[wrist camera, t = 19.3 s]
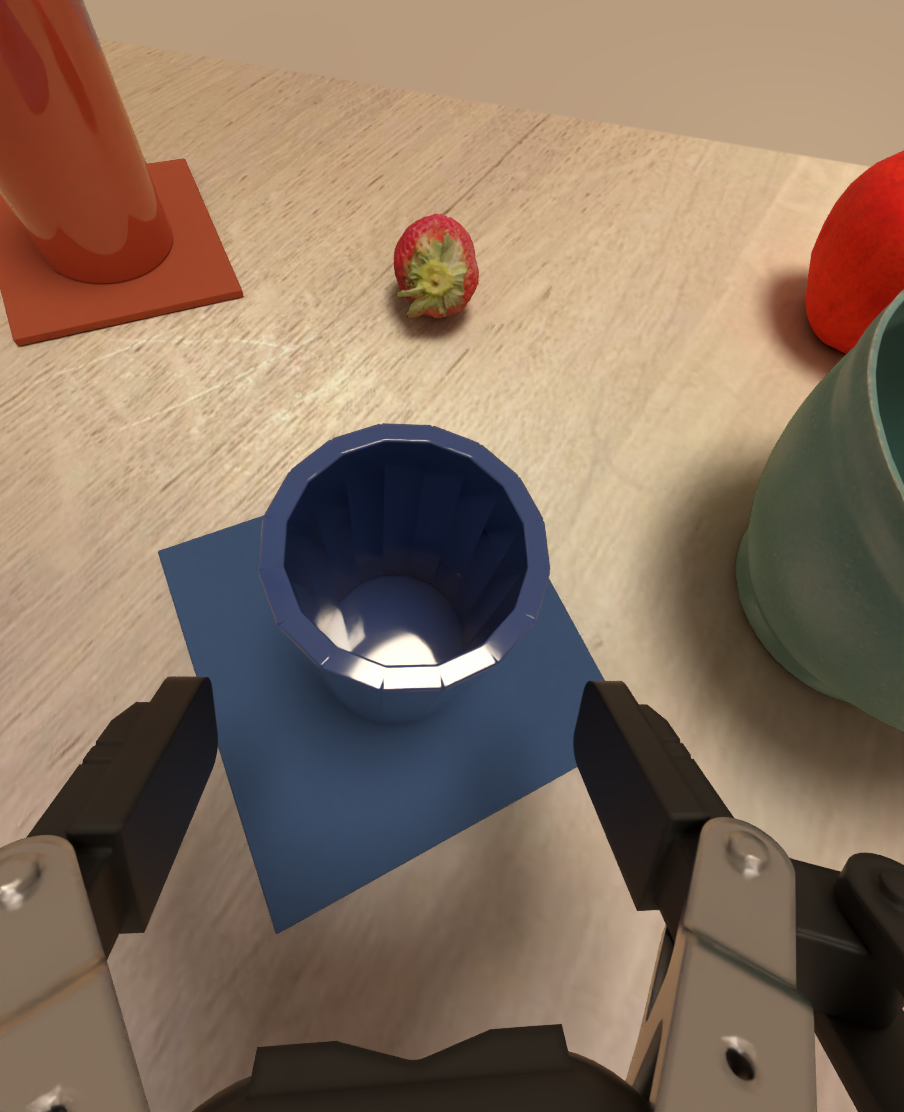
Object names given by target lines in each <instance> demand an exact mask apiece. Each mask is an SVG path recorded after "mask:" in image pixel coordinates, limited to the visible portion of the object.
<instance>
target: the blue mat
mask: <svg viewBox="0 0 904 1112" xmlns="http://www.w3.org/2000/svg"><path fill="white" fill-rule="evenodd" d="M263 519H264V516H261V517H258V518H255V519H252V520H249V521H246V522H243V523H240V524H237V525H234V526H231V527H228V528H225V529H222V530H220V531H217V532H214V533H211V534H208V535H205V536H202V537H199V538H196V539H193V540H190V541H187V542H184V543H181V544H178V545H175V546H172V547H169V548H166V549H163V550H160V551H158V554H159V557H160V560H161V564H162V567H163V570H164V573H165V576H166V580H167V583H168V586H169V589H170V593H171V596H172V599H173V602H174V606H175V609H176V612H177V615H178V618H179V622H180V625H181V628H182V631H183V635H184V638H185V641H186V644H187V648H188V651H189V654H190V657H191V660H192V664H193V667H194V670H195V673H196V677H209V679H210V680H211V683H212V690H213V698H214V706H215V715H216V723H217V731H218V748H219V751H220V754H221V757H222V761H223V764H224V767H225V770H226V774H227V777H228V780H229V783H230V786H231V790H232V793H233V796H234V799H235V803H236V806H237V809H238V812H239V816H240V819H241V822H242V825H243V828H244V832H245V835H246V838H247V841H248V845H249V848H250V851H251V854H252V858H253V861H254V864H255V867H256V870H257V874H258V877H259V880H260V883H261V887H262V890H263V893H264V896H265V899H266V903H267V906H268V909H269V912H270V916H271V919H272V922H273V925H274V929H275V932H276V934H278V933H280V932H282V931H283V930H285V929H287V928H289V927H291V926H292V925H294V924H296V923H298V922H300V921H301V920H303V919H305V918H307V917H309V916H310V915H312V914H314V913H316V912H317V911H319V910H321V909H323V908H325V907H326V906H328V905H330V904H332V903H334V902H335V901H337V900H339V899H341V898H343V897H344V896H346V895H348V894H350V893H352V892H353V891H355V890H357V889H359V888H361V887H362V886H364V885H366V884H368V883H370V882H371V881H373V880H375V879H377V878H379V877H380V876H382V875H384V874H386V873H388V872H389V871H391V870H393V869H395V868H397V867H398V866H400V865H402V864H404V863H405V862H407V861H409V860H411V859H413V858H414V857H416V856H418V855H420V854H422V853H423V852H425V851H427V850H429V849H431V848H432V847H434V846H436V845H438V844H440V843H441V842H443V841H445V840H447V839H449V838H450V837H452V836H454V835H456V834H458V833H459V832H461V831H463V830H465V829H467V828H468V827H470V826H472V825H474V824H476V823H477V822H479V821H481V820H483V819H484V818H486V817H488V816H490V815H492V814H493V813H495V812H497V811H499V810H501V809H502V808H504V807H506V806H508V805H510V804H511V803H513V802H515V801H517V800H519V799H520V798H522V797H524V796H526V795H528V794H529V793H531V792H533V791H535V790H537V789H538V788H540V787H542V786H544V785H546V784H547V783H549V782H551V781H553V780H555V779H556V778H558V777H560V776H562V775H564V774H565V773H567V772H569V771H571V770H572V769H574V768H576V767H577V764H576V761H575V756H574V750H573V736H574V731H575V726H576V722H577V717H578V713H579V708H580V704H581V699H582V695H583V691H584V687H585V685H586V683H587V682H588V681H605V680H604V678H603V677H602V675H601V673H600V671H599V669H598V667H597V666H596V664H595V662H594V660H593V658H592V656H591V655H590V653H589V651H588V649H587V647H586V645H585V644H584V642H583V640H582V638H581V636H580V634H579V633H578V631H577V629H576V627H575V625H574V623H573V622H572V620H571V618H570V616H569V614H568V612H567V611H566V609H565V607H564V605H563V603H562V601H561V600H560V598H559V596H558V594H557V592H556V590H555V589H554V587H553V585H552V583H551V581H550V580H549V578H548V581H547V585H546V588H545V591H544V595H543V598H542V601H541V605H540V608H539V611H538V615H537V618H536V620H535V621H534V624H533V625H532V626H531V628H530V629H529V630H528V631H527V632H526V633H525V635H524V636H523V637H522V638H521V639H520V640H519V641H518V643H517V644H516V645H515V646H514V647H513V648H512V650H511V651H510V652H509V653H508V654H507V655H506V656H505V658H504V659H503V660H502V661H501V662H500V663H499V664H498V665H497V666H495V667H494V668H493V669H492V670H490V671H489V672H488V673H487V674H486V675H484V676H483V677H482V678H481V679H479V680H478V681H477V682H476V683H475V684H473V685H472V686H471V687H470V688H468V689H467V690H466V691H465V692H463V693H462V694H461V695H460V696H459V697H457V698H456V699H455V700H454V701H452V702H451V703H450V704H449V705H448V706H446V707H445V708H444V709H442V710H440V711H438V712H436V713H434V714H432V715H431V716H429V717H427V718H424V719H422V720H419V721H417V722H413V723H408V724H401V725H384V724H377V723H373V722H370V721H367V720H364V719H362V718H359V717H357V716H355V715H354V714H352V713H349V712H348V711H346V710H345V709H344V708H343V707H342V706H341V705H340V704H339V703H338V702H337V701H336V700H335V699H334V698H333V697H332V696H331V695H330V694H329V693H328V692H327V691H326V689H325V688H324V687H323V686H322V684H321V683H320V682H319V680H318V679H317V677H316V676H315V675H314V673H313V672H312V671H311V669H310V668H309V667H308V665H307V664H306V663H305V661H304V660H303V659H302V657H301V656H300V655H299V653H298V652H297V651H296V649H295V648H294V647H293V645H292V644H291V642H290V641H289V640H288V638H287V637H286V636H285V634H284V633H283V632H282V630H281V629H280V627H279V626H278V624H277V623H276V620H275V617H274V614H273V612H272V609H271V606H270V604H269V601H268V598H267V595H266V593H265V590H264V587H263V584H262V582H261V579H260V576H259V570H258V566H259V555H260V544H261V533H262V522H263Z"/></svg>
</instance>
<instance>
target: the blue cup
mask: <svg viewBox="0 0 904 1112" xmlns="http://www.w3.org/2000/svg"><path fill="white" fill-rule="evenodd" d="M258 570H259V576H260V579H261V582H262V584H263V587H264V590H265V593H266V595H267V598H268V601H269V604H270V606H271V609H272V612H273V614H274V617H275V620H276V623H277V624H278V626H279V627H280V629H281V630H282V632H283V633H284V634H285V636H286V637H287V638H288V640H289V641H290V642H291V644H292V645H293V647H294V648H295V649H296V651H297V652H298V653H299V655H300V656H301V657H302V659H303V660H304V661H305V663H306V664H307V665H308V667H309V668H310V669H311V671H312V672H313V673H314V675H315V676H316V677H317V679H318V680H319V682H320V683H321V684H322V686H323V687H324V688H325V689H326V691H327V692H328V693H329V694H330V695H331V696H332V697H333V698H334V699H335V700H336V701H337V702H338V703H339V704H340V705H341V706H342V707H343V708H344V709H345V710H346V711H348V712H349V713H352V714H354V715H355V716H357V717H359V718H362V719H364V720H367V721H370V722H373V723H377V724H384V725H401V724H408V723H413V722H417V721H419V720H422V719H424V718H427V717H429V716H431V715H432V714H434V713H436V712H438V711H440V710H442V709H444V708H445V707H446V706H448V705H449V704H450V703H451V702H452V701H454V700H455V699H456V698H457V697H459V696H460V695H461V694H462V693H463V692H465V691H466V690H467V689H468V688H470V687H471V686H472V685H473V684H475V683H476V682H477V681H478V680H479V679H481V678H482V677H483V676H484V675H486V674H487V673H488V672H489V671H490V670H492V669H493V668H494V667H495V666H497V665H498V664H499V663H500V662H501V661H502V660H503V659H504V658H505V656H506V655H507V654H508V653H509V652H510V651H511V650H512V648H513V647H514V646H515V645H516V644H517V643H518V641H519V640H520V639H521V638H522V637H523V636H524V635H525V633H526V632H527V631H528V630H529V629H530V628H531V626H532V625H533V624H534V621H535V620H536V618H537V615H538V611H539V608H540V605H541V601H542V598H543V595H544V591H545V588H546V585H547V581H548V578H549V575H550V563H549V555H548V547H547V539H546V531H545V523H544V521H543V517H542V516H541V514H540V512H539V510H538V508H537V507H536V505H535V503H534V501H533V500H532V498H531V496H530V494H529V493H528V491H527V489H526V487H525V485H524V484H523V482H522V480H521V478H520V477H518V475H517V474H516V473H515V472H514V471H513V470H511V469H510V468H509V467H508V466H507V465H505V464H504V463H503V462H502V461H501V460H500V459H498V458H497V457H496V456H495V455H494V454H492V453H491V452H490V451H489V450H488V449H486V448H485V447H484V446H483V445H480V444H479V443H478V442H475V441H473V440H470V439H467V438H465V437H462V436H460V435H457V434H454V433H452V432H449V431H446V430H444V429H441V428H439V427H436V426H433V427H432V426H431V425H411V424H384V423H383V424H382V425H381V424H377V425H374V426H371V427H368V428H364V429H361V430H358V431H355V432H351V433H348V434H345V435H342V436H338V437H335V438H333V439H332V440H329V441H327V442H326V443H325V444H324V445H322V446H321V447H320V448H318V449H317V450H316V451H315V452H313V453H312V454H311V455H309V456H308V457H307V458H305V459H304V460H303V461H302V462H300V463H299V464H298V465H296V466H295V467H294V468H293V469H292V470H291V472H289V473H288V474H287V476H286V478H285V480H284V481H283V483H282V485H281V487H280V488H279V490H278V492H277V494H276V495H275V497H274V499H273V501H272V502H271V504H270V506H269V507H268V509H267V511H266V513H265V514H264V519H263V522H262V533H261V544H260V555H259V566H258Z"/></svg>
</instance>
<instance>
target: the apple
mask: <svg viewBox="0 0 904 1112" xmlns="http://www.w3.org/2000/svg"><path fill="white" fill-rule="evenodd" d="M902 290H904V151H902V152H899V153H897V154H895V155H893V156H891V157H888V158H886V159H884V160H882V161H880V162H877V163H876V164H875V165H873V166H872V167H870V168H869V169H868V170H866V171H865V172H864V173H863V174H862V175H860V176H859V177H858V178H857V179H856V180H855V181H853V182H852V183H851V184H850V185H849V187H848V188H847V189H846V190H845V192H844V193H843V194H842V195H841V197H840V198H839V199H838V200H837V202H836V203H835V205H834V206H833V208H832V210H831V212H830V213H829V215H828V217H827V219H826V220H825V222H824V224H823V227H822V229H821V231H820V233H819V236H818V238H817V241H816V243H815V245H814V248H813V250H812V253H811V260H810V268H809V275H808V282H807V290H806V298H805V306H806V312H807V318H808V320H809V323H810V325H811V328H812V330H813V332H814V333H815V334H816V335H817V336H818V338H819V339H820V340H821V341H822V342H823V343H825V344H827V345H829V346H831V347H833V348H835V349H837V350H839V351H841V352H843V353H848V352H849V351H850V350H851V349H852V348H854V347H855V346H856V344H857V342H858V341H859V339H860V338H861V336H862V335H863V333H864V332H865V330H866V329H867V328H868V326H869V325H870V324H871V323H872V322H873V321H874V319H875V318H876V317H877V316H878V315H879V314H880V313H881V312H882V311H883V310H884V309H885V308H886V307H887V306H888V305H889V304H890V303H891V302H892V301H893V300H894V299H895V298H896V296H897V295H898V294H899V293H900V292H901V291H902Z"/></svg>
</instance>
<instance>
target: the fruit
mask: <svg viewBox="0 0 904 1112" xmlns="http://www.w3.org/2000/svg"><path fill="white" fill-rule="evenodd" d="M394 270H395V276H396V279H397V282H398V285H399V287H400V289H401V291H400V292H398V294H397V296H401V297H406V298H407V299H408V300H409V302H410V303H411V305H410V308H409V311H408V312H407V317H410V318H412V317H417V316H420V315H422V314H425V315H427V316H430V317H434V318H435V319H436V318H441V317H446V316H451V315H453V314H456V313H460V312H461V311H462V309H463V308H464V307H465V306H466V304H467V303H468V302H469V301H470V299H471V297H472V295H473V294H474V292H475V290H476V287H477V285H478V278H479V271H478V270H479V269H478V266H477V262H476V259H475V250H474V245H473V242H472V240H471V238H470V235H469V234H468V232H466V230H465V229H464V228H463V226H462V225H461V224H459V223H458V222H457V221H455V220H454V219H452V218H448V217H446V216H443V215H442V214H434V215H431V216H427V217H423V218H421V219H420V220H417V221H416V222H414V223H413V224H411V225H410V226H409V227H408V228H406V230H405V232H404V233H403V235H402V236H401V238H400V239H399V241H398V242H397V245H396V248H395V252H394Z"/></svg>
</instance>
